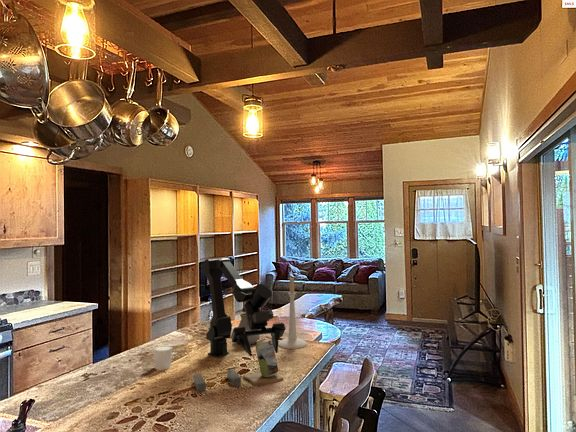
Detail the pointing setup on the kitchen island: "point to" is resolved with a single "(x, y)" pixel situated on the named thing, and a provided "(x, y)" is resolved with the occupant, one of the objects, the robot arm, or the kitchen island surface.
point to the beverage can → (266, 358)
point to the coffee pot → (243, 322)
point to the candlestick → (292, 325)
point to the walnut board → (262, 378)
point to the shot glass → (162, 357)
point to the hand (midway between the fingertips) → (264, 354)
